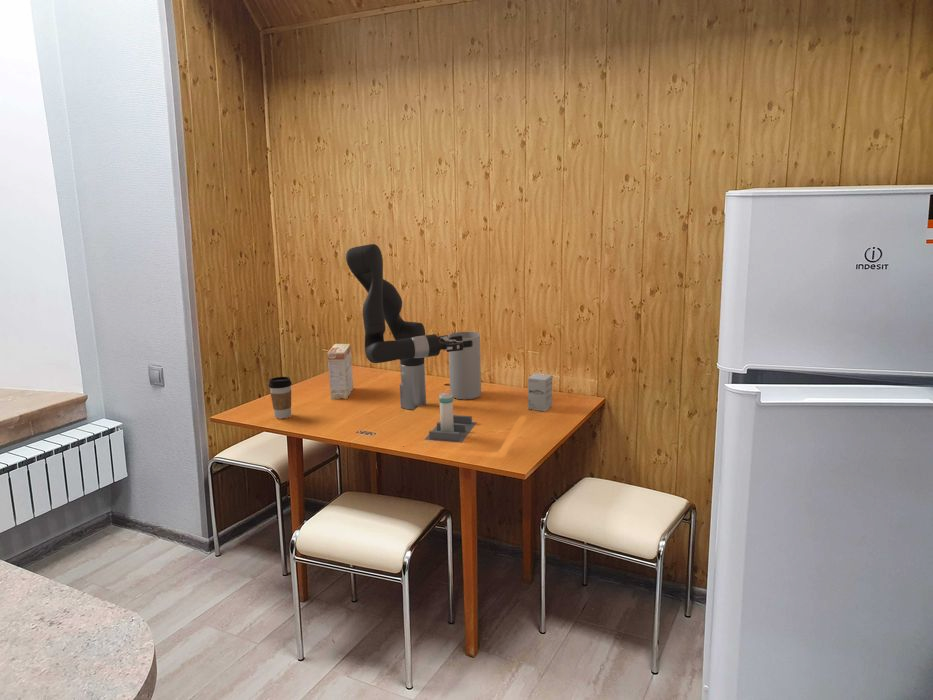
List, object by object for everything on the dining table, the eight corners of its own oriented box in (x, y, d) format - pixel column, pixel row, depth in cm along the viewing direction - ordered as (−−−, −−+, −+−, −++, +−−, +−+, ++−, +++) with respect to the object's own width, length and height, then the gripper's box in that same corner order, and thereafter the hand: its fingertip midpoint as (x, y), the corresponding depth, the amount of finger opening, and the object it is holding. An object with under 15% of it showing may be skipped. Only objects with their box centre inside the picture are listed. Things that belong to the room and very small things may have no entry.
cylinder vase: (454, 401, 286) (452, 339, 280) (447, 392, 298) (445, 333, 292) (484, 398, 289) (483, 337, 283) (476, 389, 300) (475, 330, 294)
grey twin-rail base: (424, 443, 243) (423, 432, 242) (442, 423, 261) (441, 413, 260) (461, 446, 239) (461, 435, 238) (477, 426, 258) (476, 415, 257)
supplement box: (527, 409, 274) (527, 377, 271) (534, 404, 280) (534, 372, 277) (545, 412, 270) (545, 379, 267) (552, 406, 277) (552, 374, 274)
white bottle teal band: (439, 436, 244) (437, 396, 241) (443, 431, 249) (441, 392, 245) (452, 437, 243) (450, 397, 240) (456, 432, 247) (454, 393, 244)
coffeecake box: (337, 388, 307) (334, 343, 303) (354, 388, 307) (351, 343, 302) (329, 399, 293) (326, 352, 288) (347, 399, 293) (344, 352, 288)
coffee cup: (267, 419, 271) (263, 380, 268) (280, 412, 279) (276, 374, 275) (286, 421, 268) (282, 382, 265) (298, 414, 276) (295, 376, 272)
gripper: (431, 339, 242) (475, 334, 248) (416, 331, 254) (458, 326, 261) (432, 361, 244) (475, 355, 250) (417, 352, 256) (459, 347, 263)
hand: (466, 340), depth 256 cm, fingers open, 8 cm apart
